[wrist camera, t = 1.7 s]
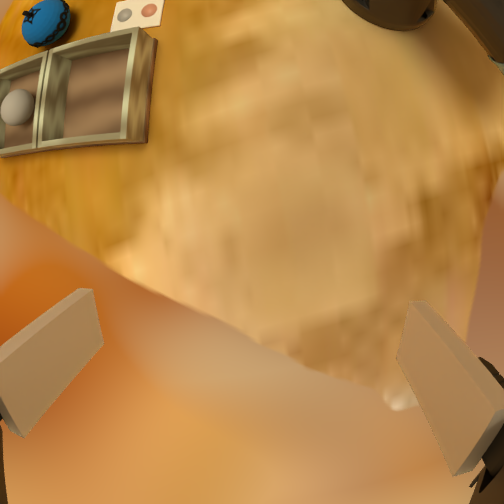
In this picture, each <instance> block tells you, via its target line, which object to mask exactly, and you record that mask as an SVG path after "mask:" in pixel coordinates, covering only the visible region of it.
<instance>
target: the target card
mask: <svg viewBox="0 0 504 504" xmlns="http://www.w3.org/2000/svg"><path fill="white" fill-rule="evenodd" d="M164 1H165V0H126V1H122V2H118V3H117V4H116V8H115V13H114V17H113V21H112V26H111V31H110V32H113V31H118V30H123V29H128V28H133V27H138V26H139V27H140V28H141V29H143V28H149V27H156V26H160V23H161V18H162V12H163V7H164Z"/></svg>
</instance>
